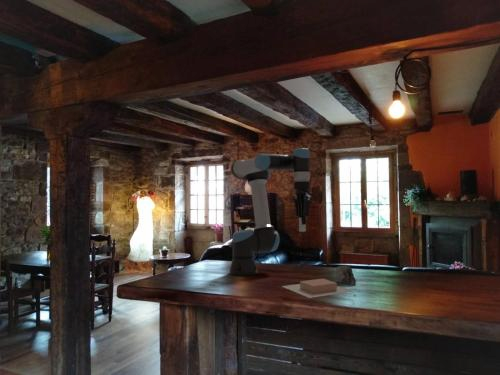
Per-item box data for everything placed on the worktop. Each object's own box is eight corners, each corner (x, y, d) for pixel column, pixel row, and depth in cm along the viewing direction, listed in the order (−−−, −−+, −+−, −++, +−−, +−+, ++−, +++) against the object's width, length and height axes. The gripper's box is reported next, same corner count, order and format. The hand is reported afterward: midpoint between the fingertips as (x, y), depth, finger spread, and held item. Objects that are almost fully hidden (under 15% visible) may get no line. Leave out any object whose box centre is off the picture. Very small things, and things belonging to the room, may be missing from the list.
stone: (356, 263, 170) (334, 261, 173) (355, 280, 162) (332, 278, 166) (356, 276, 176) (335, 274, 179) (356, 293, 168) (333, 291, 171)
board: (281, 288, 164) (281, 286, 164) (322, 283, 173) (321, 281, 173) (309, 300, 144) (309, 297, 144) (353, 294, 153) (353, 291, 153)
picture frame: (300, 281, 159) (313, 286, 150) (322, 278, 165) (336, 283, 155) (300, 288, 159) (313, 293, 150) (322, 285, 164) (337, 290, 155)
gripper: (287, 181, 177) (288, 230, 176) (302, 180, 165) (302, 233, 164) (301, 181, 180) (301, 229, 179) (316, 180, 168) (317, 232, 167)
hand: (302, 231), depth 172 cm, fingers closed
